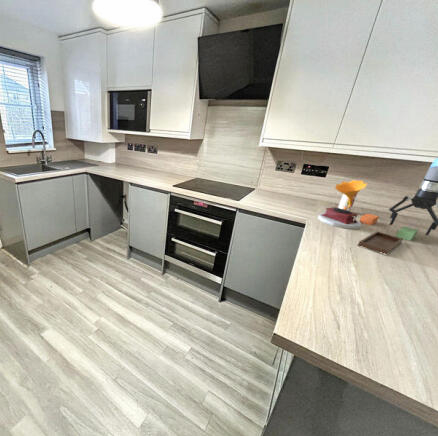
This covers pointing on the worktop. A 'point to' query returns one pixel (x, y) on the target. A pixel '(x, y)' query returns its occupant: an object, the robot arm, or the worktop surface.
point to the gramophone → (344, 216)
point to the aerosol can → (346, 202)
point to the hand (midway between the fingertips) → (408, 229)
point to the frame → (380, 242)
